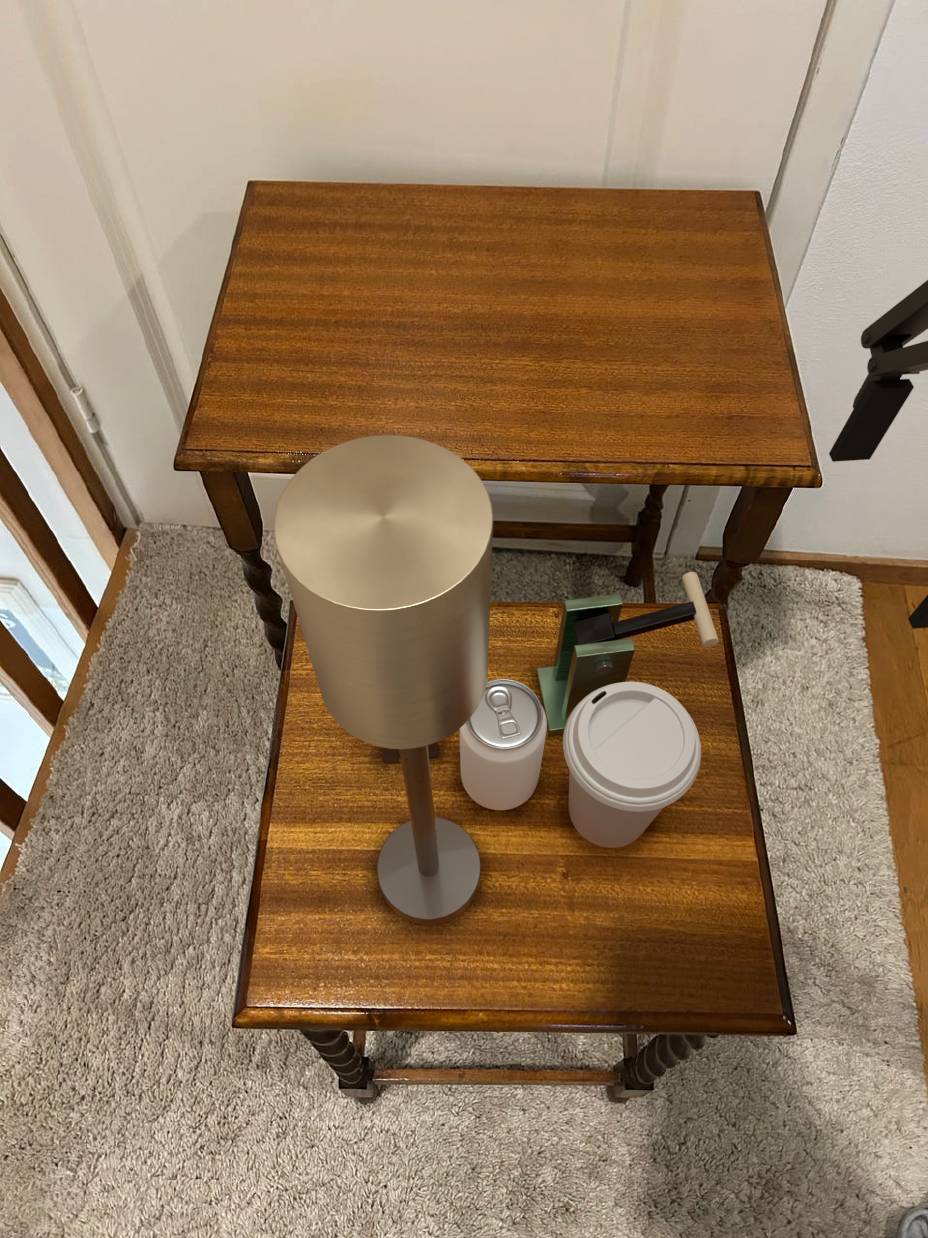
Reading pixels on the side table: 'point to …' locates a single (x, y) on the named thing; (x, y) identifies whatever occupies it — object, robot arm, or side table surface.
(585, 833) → the coffee cup
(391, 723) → the lamp
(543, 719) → the can
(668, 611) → the lever
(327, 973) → the side table surface
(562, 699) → the bracket
